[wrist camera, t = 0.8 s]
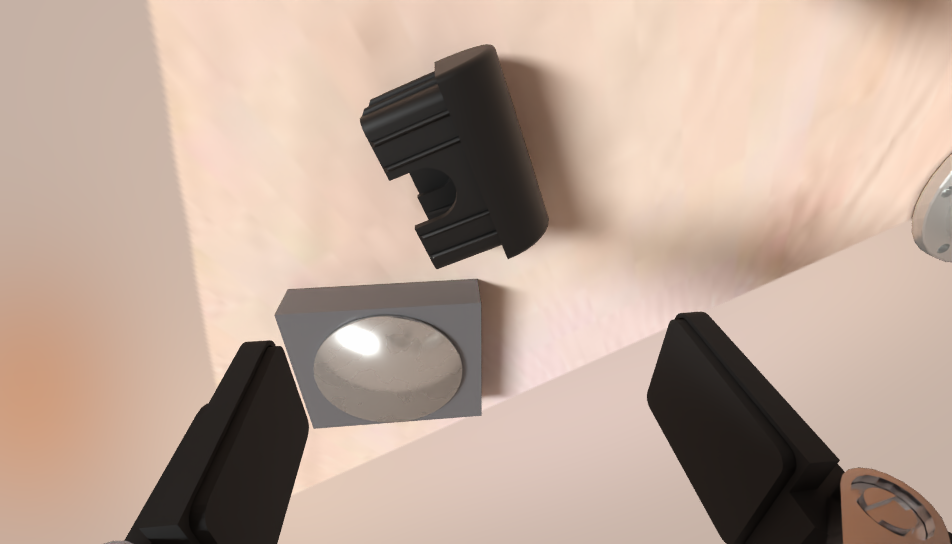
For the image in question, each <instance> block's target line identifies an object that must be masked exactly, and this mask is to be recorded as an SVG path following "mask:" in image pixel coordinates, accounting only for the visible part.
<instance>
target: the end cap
mask: <svg viewBox="0 0 952 544" xmlns="http://www.w3.org/2000/svg"><path fill="white" fill-rule="evenodd" d="M360 123H361V126H362V129H363V131H364V133H365V135H366V137H367V139H368V141H369V143H370V145H371V147H372V149H373V150H374V152H375V154H376V156H377V158H378V160H379V162H380V164H381V166H382V168H383V169H384V171H385V173H386V175H387V177H388V179H389V181H390V180H393V179H395V178H398V177H400V176H403V175H405V174H407V173H410V175H411V177H412V180H413V182H414V184H415V186H416V188H417V190H418V192H419V195H418V199H419V201H420V203H421V205H422V207H423V209H424V211H425V213H426V215H427V217H428V219H429V220H428V221H425V222H423V223H420V224H418V225H415V230H416V232H417V234H418V236H419V238H420V240H421V242H422V244H423V246H424V247H425V249H426V251H427V253H428V255H429V257H430V259H431V261H432V263H433V265H434V266H435V268H436V269H439V268H442V267H444V266H447V265H450V264H452V263H455V262H458V261H460V260H463V259H466V258H468V257H471V256H474V255H476V254H479V253H482V252H484V251H487V250H490V249H492V248H495V247H498V246H500V245H502V246H503V248H504V251H505V253H506V256H507V258H508V259H509V258H512V257H514V256H516V255H518V254H520V253H522V252H524V251H526V250H527V249H528V248H530V247H531V246H533V245H534V244H535V243H536V242H537V241H538V240H539V239H540V238H541V237H542V235H543V234H544V233H545V231H546V229H547V227H548V221H549V218H548V215H547V212H546V208H545V205H544V202H543V199H542V196H541V192H540V189H539V186H538V183H537V180H536V177H535V173H534V170H533V167H532V164H531V161H530V157H529V154H528V151H527V148H526V145H525V142H524V138H523V135H522V132H521V129H520V126H519V122H518V119H517V116H516V113H515V110H514V107H513V103H512V100H511V97H510V94H509V91H508V87H507V84H506V81H505V78H504V75H503V72H502V68H501V65H500V62H499V59H498V56H497V53H496V49H495V47H494V46H492V45H488V44H486V45H480V46H476V47H473V48H470V49H467V50H464V51H461V52H459V53H456V54H453V55H451V56H448V57H446V58H443V59H441V60H439V61H437V62H435V71H434V72H432V73H429V74H427V75H425V76H422V77H420V78H418V79H416V80H413V81H411V82H409V83H407V84H404V85H402V86H400V87H398V88H395V89H393V90H391V91H388V92H386V93H384V94H382V95H380V96H378V97H376V98H373V99H371V100H370V103H369V106H368V107H367V108H365V109H364V112H363V115H362V117H361V118H360Z"/></svg>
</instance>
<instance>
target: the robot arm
mask: <svg viewBox="0 0 952 544" xmlns="http://www.w3.org/2000/svg"><path fill="white" fill-rule="evenodd" d="M912 234H913V238H914V241H915V243H916V244H917V245H918V247H919V248H920V249H921V250H922V251H924V252H925V253H927V254H929V255H931V256H933V257H935V258H937V259H939V260H942V261H945V262H952V154H951V155H950V156H949V157H948V158H947V159H946V160H945V161H944V162H943V164H942V165H941V166H940V167H939V168H938V170H937V171H936V172H935V173H934V174H933V176H932V177H931V179H930V180H929V182H928V183H927V185H926V187H925V188H924V190H923V191H922V193H921V196H920V198H919V200H918V202H917V204H916V207H915V211H914V214H913V218H912ZM647 401H648V405H649V407H650V409H651V411H652V413H653V415H654V416H655V418H656V420H657V422H658V424H659V426H660V427H661V429H662V431H663V433H664V435H665V437H666V438H667V440H668V442H669V444H670V446H671V447H672V449H673V451H674V453H675V455H676V457H677V458H678V460H679V462H680V464H681V465H682V467H683V469H684V471H685V473H686V475H687V477H688V478H689V480H690V482H691V484H692V485H693V487H694V489H695V491H696V493H697V495H698V496H699V498H700V500H701V502H702V504H703V506H704V508H705V509H706V511H707V513H708V515H709V517H710V518H711V520H712V522H713V524H714V526H715V528H716V529H717V531H718V533H719V535H720V536H721V538H722V540H724V542H725V543H727V544H952V533H950V532H948V531H947V528H946V526H945V524H944V522H943V520H942V517H941V516H940V515H939V514H938V512H937V511H936V510H935V508H934V507H933V506H932V505H931V504H930V503H929V502H928V501H927V500H926V499H925V498H924V497H923V496H922V495H921V494H919V493H918V492H917V491H916V490H914V489H913V488H911V487H910V486H908V485H907V484H905V483H904V482H902V481H900V480H898V479H896V478H894V477H892V476H890V475H888V474H886V473H883V472H880V471H877V470H874V469H869V468H860V467H858V468H853V469H848V470H847V471H846V472H844V471H843V469H842V468H841V467H840V466H839V465H838V464H837V463H838V462H839V461H840V460H839V459H838V458H837V457H836V455H835V454H834V453H833V452H832V451H831V450H830V449H829V448H828V447H827V445H826V444H825V443H824V442H823V441H822V440H821V439H820V438H819V437H818V436H817V434H816V433H815V432H814V431H813V430H812V429H811V428H810V427H809V426H808V425H807V423H805V421H804V420H803V419H802V418H801V417H800V416H799V415H798V414H797V412H796V411H795V410H794V409H793V408H792V407H791V406H790V405H789V404H788V403H787V401H786V400H785V399H784V398H783V397H782V396H781V395H780V394H779V392H778V391H777V390H776V389H775V388H774V387H773V386H772V385H771V384H770V383H769V382H768V380H767V379H766V378H765V377H764V376H763V375H762V374H761V373H760V371H759V370H758V369H757V368H756V367H755V366H754V365H753V364H752V363H751V362H750V360H749V359H748V358H747V357H746V356H745V355H744V354H743V353H742V352H741V351H740V350H739V348H738V347H737V346H736V345H735V344H734V343H733V342H732V341H731V340H730V338H729V337H728V336H727V335H726V334H725V333H724V332H723V331H722V330H721V328H720V327H719V326H718V325H717V324H716V323H715V322H714V321H713V320H712V318H711V317H710V316H709V315H708V314H706V313H705V312H691V313H680V314H678V315H677V316H676V318H675V319H674V320H671V321H670V323H669V325H668V329H667V332H666V335H665V338H664V341H663V344H662V348H661V351H660V354H659V357H658V360H657V364H656V367H655V370H654V373H653V376H652V379H651V383H650V386H649V389H648V392H647ZM308 431H309V423H308V419H307V416H306V413H305V410H304V407H303V404H302V402H301V399H300V396H299V393H298V390H297V387H296V384H295V381H294V378H293V376H292V373H291V370H290V367H289V364H288V361H287V358H286V355H285V353H284V350H283V348H282V347H281V346H275V344H274V342H273V341H270V340H269V341H254V342H245V343H243V344H242V345H241V347H240V348H239V350H238V352H237V354H236V355H235V357H234V359H233V361H232V363H231V364H230V366H229V368H228V370H227V371H226V373H225V375H224V377H223V379H222V380H221V382H220V384H219V386H218V388H217V389H216V391H215V393H214V395H213V397H212V398H211V400H210V402H209V403H208V404H206V405H205V406H203V407H202V408H201V409H200V411H199V412H198V413H197V415H196V416H195V418H194V420H193V422H192V423H191V425H190V427H189V429H188V430H187V432H186V434H185V436H184V438H183V439H182V441H181V443H180V444H179V446H178V448H177V450H176V451H175V453H174V455H173V457H172V458H171V460H170V462H169V464H168V465H167V467H166V469H165V471H164V472H163V474H162V476H161V478H160V479H159V481H158V483H157V485H156V486H155V488H154V490H153V492H152V493H151V495H150V497H149V499H148V500H147V502H146V504H145V506H144V507H143V509H142V511H141V512H140V514H139V516H138V518H137V520H136V521H135V523H134V525H133V526H132V528H131V530H130V532H129V533H128V535H127V537H126V539H125V540H124V541H112V542H108V543H104V544H277V542H278V539H279V535H280V532H281V528H282V525H283V521H284V517H285V514H286V511H287V507H288V504H289V500H290V497H291V493H292V490H293V486H294V483H295V479H296V476H297V472H298V469H299V465H300V462H301V458H302V455H303V451H304V448H305V444H306V441H307V437H308Z"/></svg>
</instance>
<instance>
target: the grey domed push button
mask: <svg viewBox="0 0 952 544" xmlns="http://www.w3.org/2000/svg"><path fill="white" fill-rule="evenodd" d="M275 318H276V321H277V324H278V327H279V329H280V332H281V335H282V338H283V341H284V344H285V347H286V350H287V353H288V356H289V358H290V361H291V364H292V367H293V370H294V373H295V376H296V379H297V382H298V384H299V387H300V390H301V393H302V396H303V399H304V402H305V405H306V408H307V411H308V413H309V416H310V419H311V422H312V425H313V428H314V429H315V428H328V427H341V426H354V425H367V424H380V423H392V422H405V421H418V420H431V419H444V418H457V417H470V416H481V299H480V293H479V286H478V280H477V279H469V280H451V281H433V282H415V283H397V284H379V285H361V286H343V287H325V288H307V289H289V290H287V292H286V294H285V296H284V298H283V300H282V301H281V303H280V305H279V307H278V309H277V311H276V313H275Z"/></svg>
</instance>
